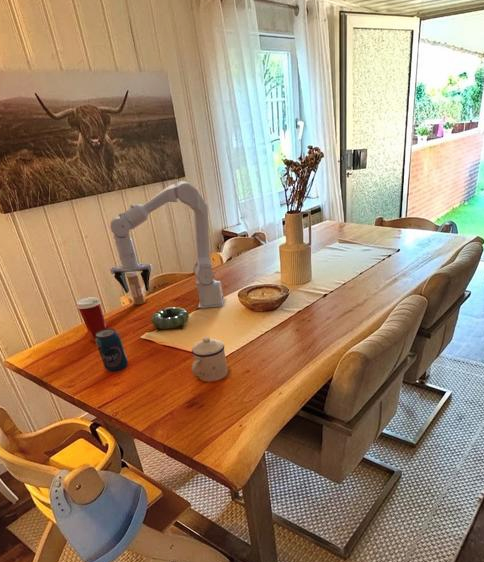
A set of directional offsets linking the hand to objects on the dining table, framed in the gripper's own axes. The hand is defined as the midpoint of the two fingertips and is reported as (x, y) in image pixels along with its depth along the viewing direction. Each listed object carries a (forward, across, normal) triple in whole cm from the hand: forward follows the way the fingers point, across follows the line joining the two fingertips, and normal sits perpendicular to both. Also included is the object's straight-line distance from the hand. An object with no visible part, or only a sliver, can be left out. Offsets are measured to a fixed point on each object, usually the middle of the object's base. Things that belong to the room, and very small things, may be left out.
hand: (137, 291), depth 159 cm
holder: (+10, +12, -10) cm, 19 cm away
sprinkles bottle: (+11, -6, +16) cm, 20 cm away
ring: (+8, +12, -10) cm, 17 cm away
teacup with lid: (+11, +31, -49) cm, 59 cm away
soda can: (+11, +1, -39) cm, 40 cm away
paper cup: (+11, -12, -16) cm, 23 cm away
